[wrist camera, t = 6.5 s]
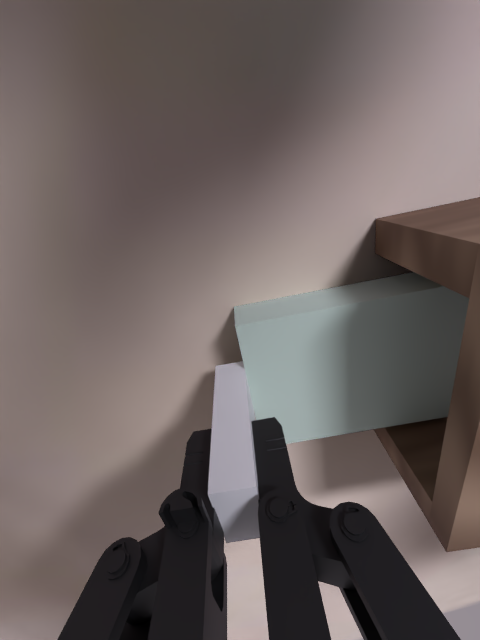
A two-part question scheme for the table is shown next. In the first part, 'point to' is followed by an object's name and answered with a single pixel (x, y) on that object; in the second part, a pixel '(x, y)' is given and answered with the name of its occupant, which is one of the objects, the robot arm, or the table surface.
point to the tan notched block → (470, 379)
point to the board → (353, 355)
